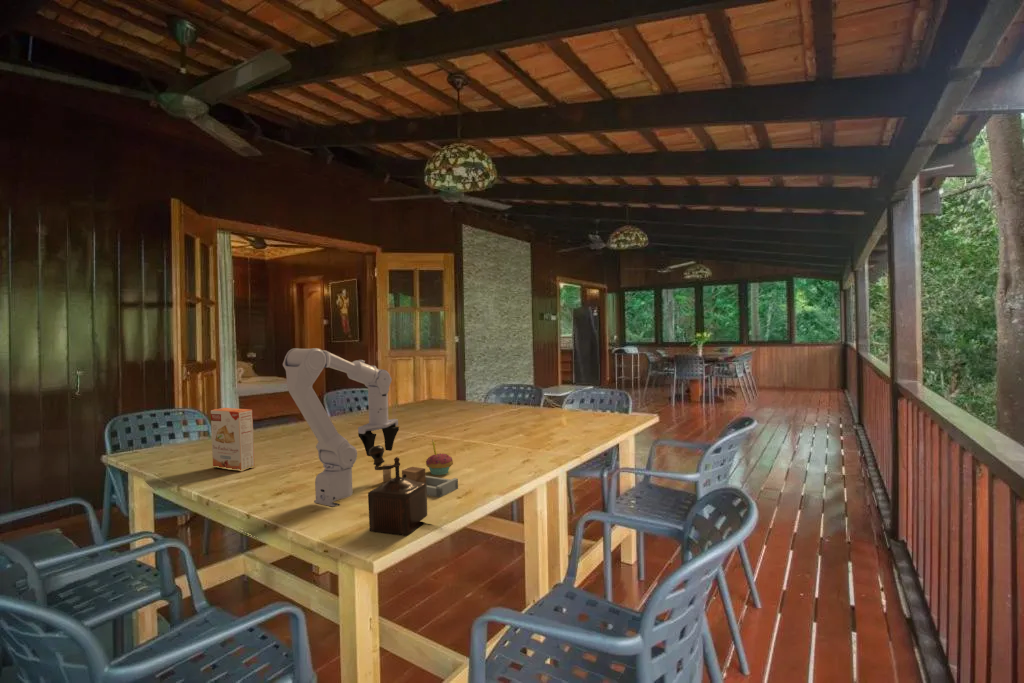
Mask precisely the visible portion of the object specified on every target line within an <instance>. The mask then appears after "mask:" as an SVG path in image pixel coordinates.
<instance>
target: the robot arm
mask: <svg viewBox="0 0 1024 683" xmlns="http://www.w3.org/2000/svg"><path fill="white" fill-rule="evenodd" d="M365 362H366V360H363V359H358V360H353V361H349V360H346V359H344V358H342V357H340V356H339V355H336V354H335V353H331V352H330V351H328V350H323V349H321V348H319V347H318V348H317V347H315V348H314V347H313V348H297V347H295V348H291V349H290V350H288V351H287V352H286V355H285V356H284V360H283V362H282V367H283V368H284V370H285V375H286V376H285V377H286V386H287V387H286V388H287V391H288V393H289V395H290V396H291V398H292V400H293V401H294V403H295V405H296V407H297V408H298V410H299V411H300V413H301V415H302V416H303V418H304V420H305V422H306V423H307V425H308V426H309V428H310V430H311V431H312V433H313V435H314V437H315V438H316V440H317V443H316V445H315V449H316V450H317V452H318V460H319V461H320V462H321V463H322V464H323V465H322V466H323V468H324V469H323V470H322V471H321V472H319V473H318V474H317V475H316V477H315V479H314V481H315V482H314V486H315V487H314V488H315V500H313V503H315V504H319V505H324V506H329V507H332V508H333V507H337V506H339V505H340V503H338V502H335V501H339V500H342V499H345V498H349V497H351V496H352V495H353V468H354V464H355V463H356V462H357V458H358V450H357V448H356V447H355V446H354V445H352V444H351V443H350V442H349V441H348V439H346V438H345V437H344V436H343V435H341V434H340V433H339V432H338V430H337V428H336V426H335V425H334V423H333V421H332V420H331V418H330V416H329V414H328V412H327V411H326V409H325V408H324V405H323V404H322V402H321V400H320V399H319V397H318V395H317V393H316V392H315V390H314V387H313V385H314V384H315V382H316V380H317V379H318V378H319V376H320V374H321V373H322V371H323V370H324V368H326V369H328V368H330V369H333V370H337V371H340V372H343V373H345V374H346V376H347V378H348V379H349V380H352V381H355V382H357V383H360V384H363V385H364V386H365V387H366V388H367V389H368V390H367V395H368V397H367V398H368V399H367V400H368V423H366V424H363V425H361V426H358V427H357V430H358V432H357V433H358V434H357V435H358V437H359V439H360V440H361V442H362V444H363V447H364V450H365V453H366V456H367V457H371V456H370V455H369V450H370V449H371V448H372V447H374V446H375V441H376V438H377V433H374V432H373V431H377V430H381V431H382V434H383V439H384V450H385V451H392V450H393V448H394V442H395V439H396V436H397V433H399V430H400V427H399V419H397V418H391V419H389V395H388V394H389V392H390V385H391V384H392V377H391V374H390V372H388V370H387V369H379V368H377V366H376V365H370V364H368V363H365Z"/></svg>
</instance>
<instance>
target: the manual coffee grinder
mask: <svg viewBox="0 0 1024 683" xmlns="http://www.w3.org/2000/svg"><path fill="white" fill-rule="evenodd" d="M384 453H385V447H383V446H382V445H379V444H378V445H374V447H372V448H371V449H370V450H369V455H370V456H369V457H371V458H372V459H373V465H374V470H375V471H383V470H387V469H391V470H392V469H394V468H395V470H394V471H395V473H394V474H395V477H393V478H394V479H392V480H390V481H388V482H386V483H382V484H381V485H378V486H376V487H375V488H373V489H372V490H370V491H368V493H367V499H368V500H367V503H368V521H369V522H368V524H369V528H368V530H369V532H372V533H377V534H378V533H379V534H384V535H385V534H386V535H391V536H392V535H394V536H404V537H405V536H406V537H407V536H409V535H410V534H412V533H414V532H415V531H416V530H418V529H419V528H420V527H421V526H423V525H424V524H425V522H424V521H422V520H423V519H425V518H426V517H427V516H428V495H427V484H426V483H425V482H416V481H415V480H410V479H407V478H406V477H407V475H406V474H404V475H403V477H402V476H400V466H401V463H400V457H398V456H397V457H394V459H393V460H394V463H393V464H392V465H391V464H390V465H391V466H383V465H382V464H383V463H385V460H384V458H383V456H384Z"/></svg>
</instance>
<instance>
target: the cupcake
mask: <svg viewBox="0 0 1024 683" xmlns="http://www.w3.org/2000/svg"><path fill="white" fill-rule="evenodd" d="M431 440H432V441H431V443H432V447H433V448H432V449H433V453H434V454H432V455H430V456H429V457H428V458H427V459H426V460H425V465H426V468H428V469H429V471H430V474H431V475H434V476H442V475H443V476H444V475H447V474H448V473H449V470H450V468H451V467H452V466H453V465H454V460H453V457H451V455H449V454H448V453H437V448H436V445H435V444H436V442H435V441H434V439H431Z"/></svg>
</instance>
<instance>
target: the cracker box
mask: <svg viewBox="0 0 1024 683" xmlns="http://www.w3.org/2000/svg"><path fill="white" fill-rule="evenodd" d="M253 416H254V414H253V409H247V408H233V407H222V408H215V409H211V410H210V427H211V449H212V450H211V451H212V453H211V454H212V467H213V466H219V467H226V468H232V469H240V470H241V469H245V468H248V467H252V466H255V446H254V442H255V441H254V421H253V419H254V418H253Z"/></svg>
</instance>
